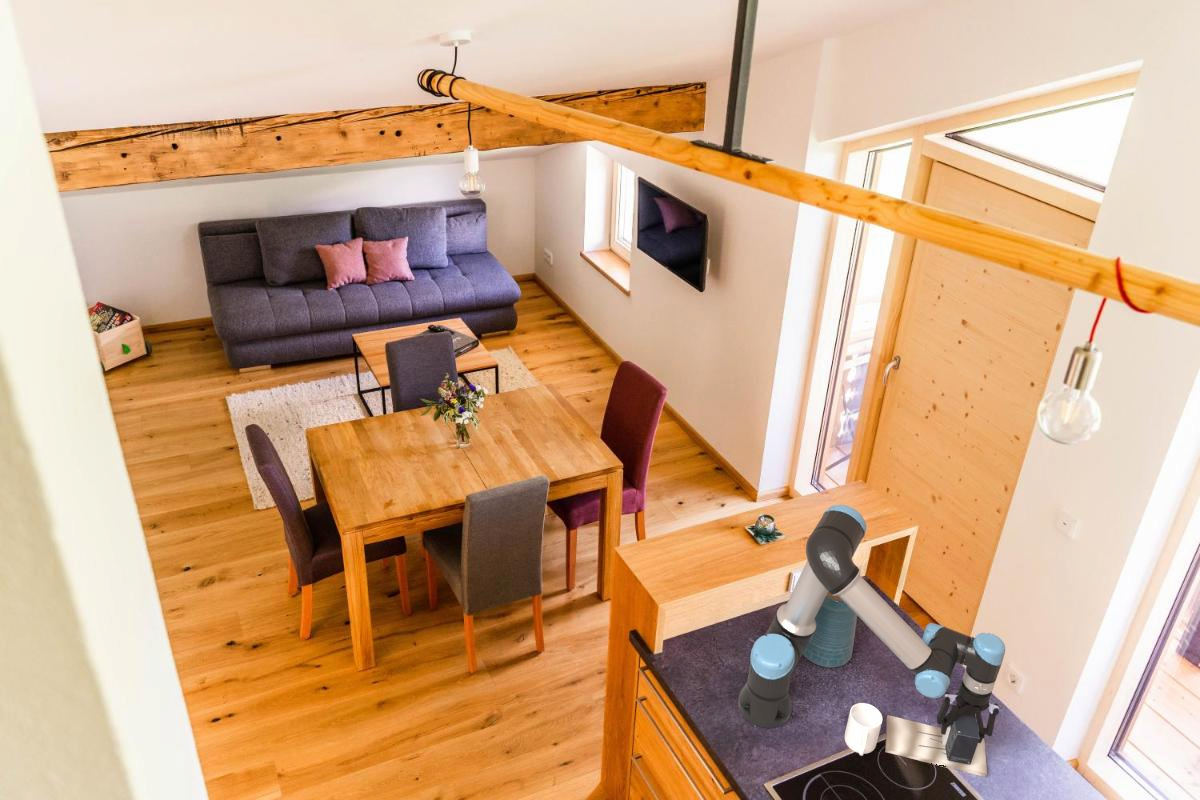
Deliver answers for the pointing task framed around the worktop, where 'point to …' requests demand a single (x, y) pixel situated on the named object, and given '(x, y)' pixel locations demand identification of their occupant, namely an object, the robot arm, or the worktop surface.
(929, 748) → the board
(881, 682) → the worktop surface
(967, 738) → the small box
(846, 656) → the vase
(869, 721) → the mug
